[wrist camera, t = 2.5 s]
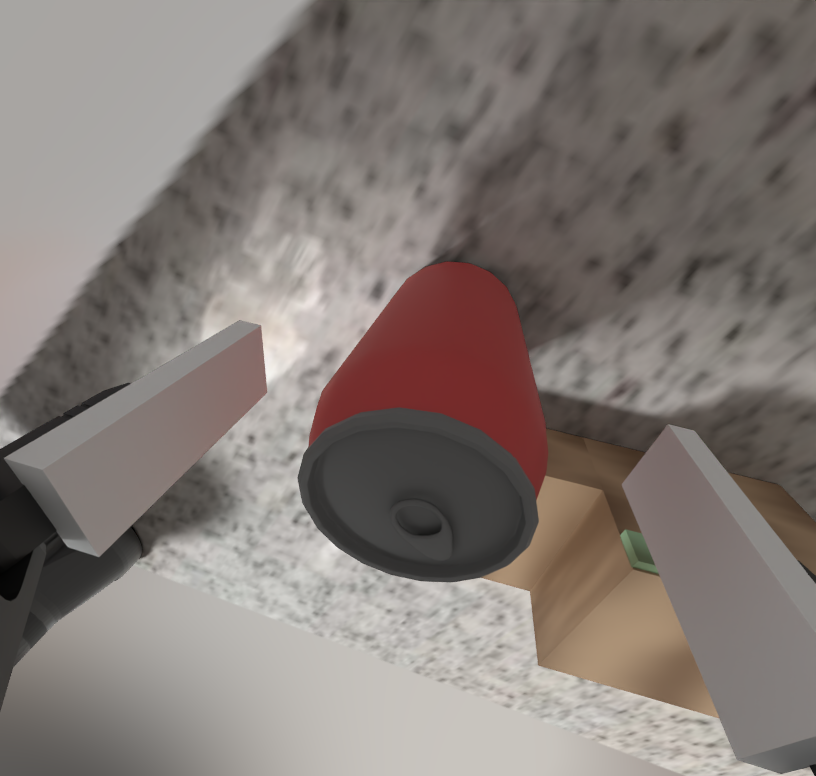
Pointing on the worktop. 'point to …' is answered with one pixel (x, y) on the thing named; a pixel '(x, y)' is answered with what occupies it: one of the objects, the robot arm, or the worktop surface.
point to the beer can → (431, 434)
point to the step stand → (619, 575)
